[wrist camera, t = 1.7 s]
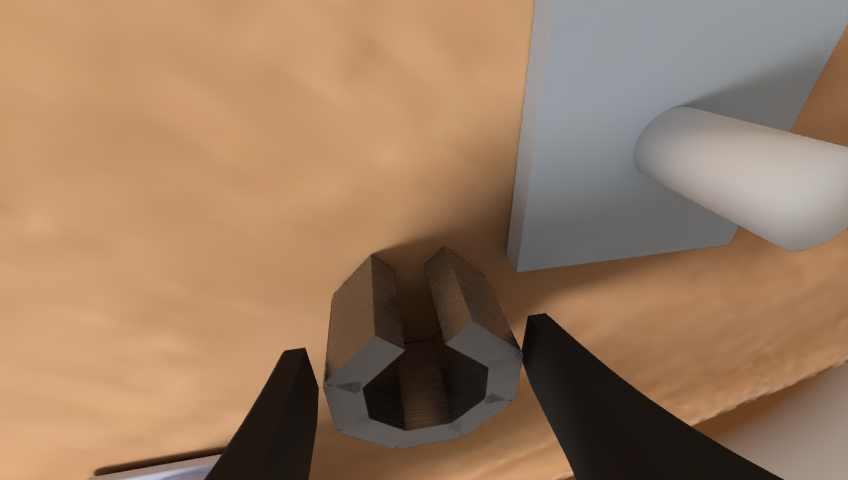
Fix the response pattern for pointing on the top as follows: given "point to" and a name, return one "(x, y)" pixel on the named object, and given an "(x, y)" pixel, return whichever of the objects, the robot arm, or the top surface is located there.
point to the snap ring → (418, 357)
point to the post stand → (673, 129)
